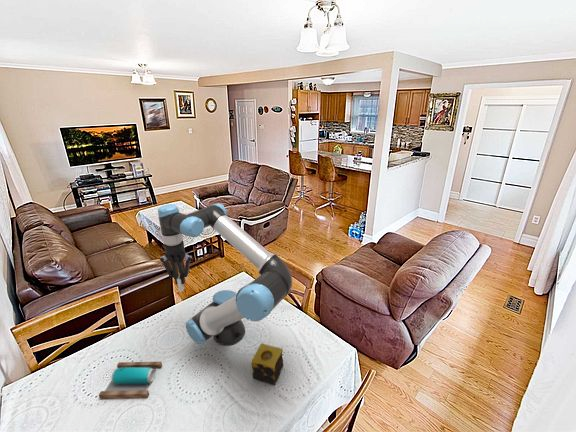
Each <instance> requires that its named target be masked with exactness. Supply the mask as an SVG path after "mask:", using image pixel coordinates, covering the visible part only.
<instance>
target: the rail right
mask: <svg viewBox="0 0 576 432" xmlns="http://www.w3.org/2000/svg"><path fill="white" fill-rule="evenodd" d="M116 367H117V368H121V367H150V368H152V369H156V370H161V369H163V363H162V361H127V362H126V361H123V362H121V361H119V362H118V363H117V365H116Z"/></svg>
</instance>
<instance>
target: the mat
mask: <svg viewBox="0 0 576 432" xmlns="http://www.w3.org/2000/svg"><path fill="white" fill-rule="evenodd" d="M154 370H155V371H157V369H154ZM149 385H150V383H147V384H116V383H112V380H110V382H109V383H108V385H107V387H106V389H105V390H104V391H132V390H148V388H149Z"/></svg>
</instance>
